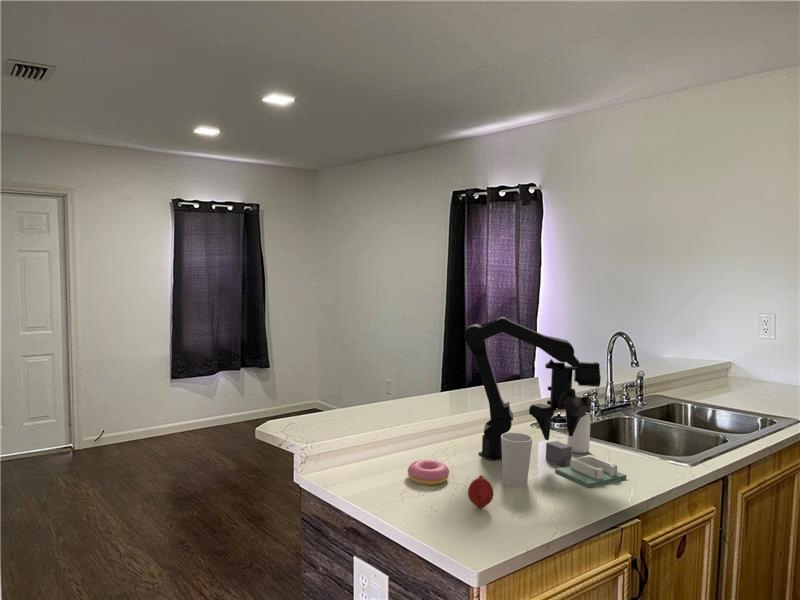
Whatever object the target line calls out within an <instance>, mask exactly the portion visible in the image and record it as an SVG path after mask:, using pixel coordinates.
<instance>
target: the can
mask: <svg viewBox="0 0 800 600" xmlns="http://www.w3.org/2000/svg"><path fill="white" fill-rule="evenodd" d="M590 436H591V415H590V412H589V413H587V415H586V416H583V417H582V418H581V419H580V420H579V422H578V424H577V426H576V429H575V431H574V433H573V436H569V434H568V433H567V437H566V438H567V440H566V442H567V443H566V445H569V446H571V447H572V453H574V454H587V453H588V452H589V451H590V439H591V437H590Z"/></svg>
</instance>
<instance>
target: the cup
mask: <svg viewBox="0 0 800 600" xmlns="http://www.w3.org/2000/svg"><path fill="white" fill-rule="evenodd" d="M532 445H533V437H532V436H531V435H529V434H526V433H522V432H506V433H505V434H502V435H501V446H502V458H501V463H502V464H501V465H502V483H503V484H504V485H506V486H508V487H512V488H523V487H527V486H528V480H529V479H528V478H529V469H530V462H531V455H532V454H531V453H532Z"/></svg>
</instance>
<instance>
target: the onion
mask: <svg viewBox="0 0 800 600" xmlns="http://www.w3.org/2000/svg"><path fill="white" fill-rule="evenodd" d="M493 488H494V487H492V485H491V483H490V482H489V480H487V479H486V478H485V477H484V475H483V474H480V475H479V476H478V477H476V478H475V479H474V480H472V482H471V483H470V485H469V486H468V490H467V496H468V498H469V501H470V502H471V503H472V504H473V505H475V507H476V508H477V509H479V510H482V509H484V508H486V506H487V505H489V504H490V503H491V502H492V501H493V498H494V489H493Z"/></svg>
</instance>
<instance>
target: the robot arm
mask: <svg viewBox="0 0 800 600" xmlns="http://www.w3.org/2000/svg"><path fill="white" fill-rule="evenodd" d="M500 333H505V335H509V336H511V337H514V338H515V339H518V340H520V341H523V342H525V343H527V344H529V345H532V346H534V347H537V348H539V349H540V350H542V351H543V352H545V354H547V355H548V356H550V357H551V358H553V359H555V360H556V362H555V361H554V360H553V359H550V360H549V361H548V362H547V363H545V365H544V366H545V369H551V382H550V385H549V386H547V391H550V398H549V400H547V402H546V404H543V403H535V404H531V405H530V406H529V412H528V414H529V415H531V416H532V417H533V418H535V420H536V422H537V424H538V425H539V428H540V431H541V434H542V435H543V437H544V438H543V439H544V440H545V441H549V439H550V432H551V423H552V422H553V421H554V420H555V418H553V416H555V413H561V412H565V417H566V427H567V435H568V434H569V436H573V433H574V431H575V429H576V426H577V424H578V422H579V420H580V419H581V418H582V417H583V416H586V415H587V413H589V414H590V413H591V406H592V398H591V397H590V396H587V395H586V396H582V397H581V396H578V395H577V394H576V389H575V388H573V387H572V386H573V381H574V382H575V383H577V385H578V386H579V387H593V388H594V387H595V388H599V387H600V386H601V377H602V376H601V372H600V371H601V369H600V368H601V367H600V362H596V361H595V362H594V361H593V362H585V361H584V362H582V361H580V360H579V357H576V356H575V349H574V347H573V345H572V344H571V342H570V341H568V340H567V339H562V338H559V337H554V336H548V335H544V334H541V333H540V332H537V331H535V330H533V329H530V328H528V327H526V326H524V325H521V324H520V323H516V322H514V321H512V320H510V319H508V318H507V317H504V316H500V317H499V318H497V319H493V320H491V321H489V322H485V323H482V324H477V323H474V324H470V325H469V326H467V328H466V330H465V331H464V334H463V336H464V337H463V338H464V340H465V342H466V344H467V346H468V348H469V350H470V352H471V353H472V355H473V357H474V360H475V361H476V365H477V368H478V371H479V374H480V378H481V382H482V384H483V387H484V391H485V394H486V397H487V400H488V405H489V415H490V419H489V420H488V421H487V422H486V423H485V424H484V429H483V435H482V439H481V441H482V444H481V445H482V446H481V451H478V455H480V456H482V457H484V458H486V459H488V460H491V461H495V460H500V459H501V460H502V446H501V435H502V434H505V433H509V431H510V430H511V428H512V422H513V421H514V413H513V412H512V410H511V406H510V402H509V401H507V402H505V401H504V399H503V398H502V394H501V393H500V389H499V386H498V383H497V379H496V376H495V373H494V370H493V366H492V363H491V360H490V356H489V353H488V341H487V339H488V338H489V339H490V338H491V337H494V336H495V335H498V334H500ZM557 361H558V362H557ZM565 363H567V364H568V365H566V364H565ZM569 365H570V366H569ZM573 371H574V372H573ZM573 375H574V376H573ZM573 379H574V380H573Z"/></svg>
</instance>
